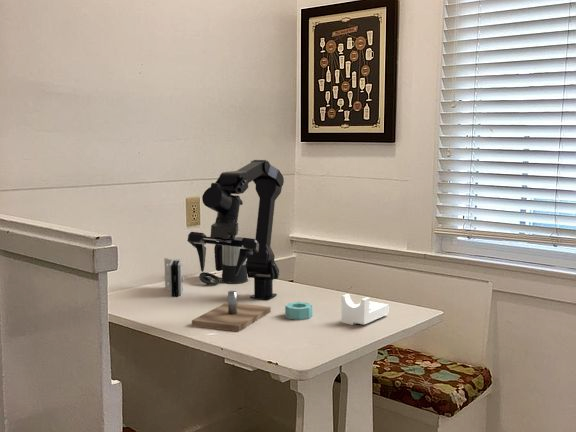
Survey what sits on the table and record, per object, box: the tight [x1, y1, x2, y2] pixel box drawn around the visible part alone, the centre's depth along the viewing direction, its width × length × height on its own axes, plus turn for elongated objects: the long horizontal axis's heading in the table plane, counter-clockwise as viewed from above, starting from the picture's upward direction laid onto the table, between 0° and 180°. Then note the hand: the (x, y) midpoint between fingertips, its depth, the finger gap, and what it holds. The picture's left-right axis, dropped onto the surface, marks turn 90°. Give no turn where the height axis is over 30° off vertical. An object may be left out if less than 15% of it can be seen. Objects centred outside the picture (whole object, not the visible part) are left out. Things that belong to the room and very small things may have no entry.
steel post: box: [227, 290, 238, 315], centre depth 178 cm, size 2×2×6 cm
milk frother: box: [198, 236, 249, 286], centre depth 222 cm, size 14×16×15 cm
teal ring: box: [284, 301, 313, 321], centre depth 181 cm, size 7×7×3 cm
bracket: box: [341, 293, 390, 326], centre depth 177 cm, size 13×7×8 cm, turn 142°
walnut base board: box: [191, 301, 272, 332], centre depth 179 cm, size 20×14×2 cm
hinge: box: [164, 257, 184, 298], centre depth 210 cm, size 14×5×10 cm, turn 18°
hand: (219, 273), depth 174 cm, fingers open, 9 cm apart
